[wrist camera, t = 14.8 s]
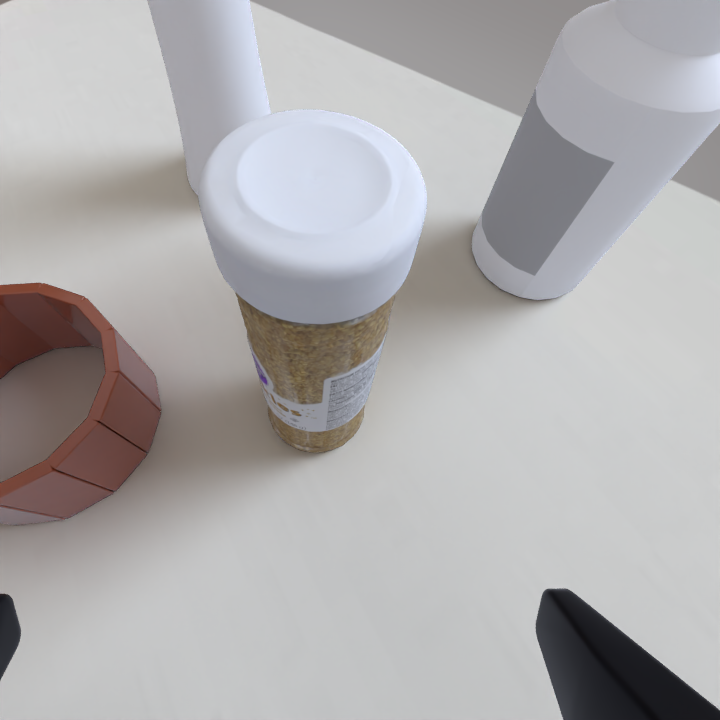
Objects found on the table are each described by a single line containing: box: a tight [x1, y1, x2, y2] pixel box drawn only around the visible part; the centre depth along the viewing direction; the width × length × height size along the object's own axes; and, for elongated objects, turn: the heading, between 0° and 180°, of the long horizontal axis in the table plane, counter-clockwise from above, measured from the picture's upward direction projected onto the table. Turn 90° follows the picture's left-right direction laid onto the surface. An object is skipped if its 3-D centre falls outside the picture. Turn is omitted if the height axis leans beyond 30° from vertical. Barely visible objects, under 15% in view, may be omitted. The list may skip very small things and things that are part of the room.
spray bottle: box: [472, 0, 720, 300], centre depth 17 cm, size 7×7×18 cm
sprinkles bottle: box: [198, 109, 427, 452], centre depth 14 cm, size 5×5×14 cm
